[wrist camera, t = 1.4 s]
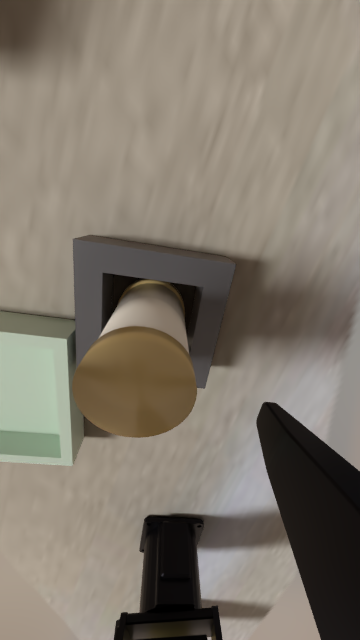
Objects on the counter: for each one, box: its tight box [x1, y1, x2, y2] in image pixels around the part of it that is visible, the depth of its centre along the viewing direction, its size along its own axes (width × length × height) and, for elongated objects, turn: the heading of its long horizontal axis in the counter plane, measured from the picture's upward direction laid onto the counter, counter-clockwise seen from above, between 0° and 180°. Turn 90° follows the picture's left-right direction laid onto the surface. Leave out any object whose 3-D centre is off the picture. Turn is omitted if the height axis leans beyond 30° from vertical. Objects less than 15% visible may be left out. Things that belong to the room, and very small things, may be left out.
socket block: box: [73, 235, 236, 388], centre depth 14 cm, size 8×8×2 cm
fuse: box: [72, 278, 197, 438], centre depth 12 cm, size 4×4×8 cm
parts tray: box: [0, 311, 84, 466], centre depth 16 cm, size 11×10×2 cm
